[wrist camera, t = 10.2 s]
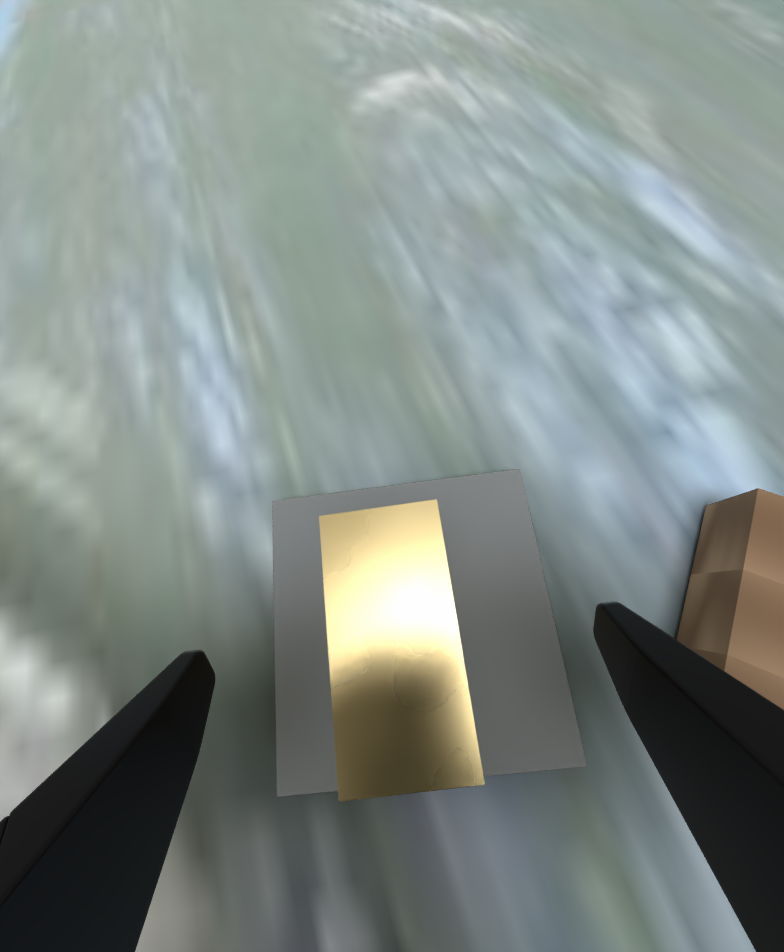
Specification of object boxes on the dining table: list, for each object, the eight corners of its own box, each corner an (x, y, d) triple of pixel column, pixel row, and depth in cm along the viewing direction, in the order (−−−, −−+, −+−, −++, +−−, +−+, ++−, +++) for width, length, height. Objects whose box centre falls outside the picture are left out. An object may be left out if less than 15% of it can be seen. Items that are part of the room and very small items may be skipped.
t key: (449, 675, 16) (484, 785, 7) (388, 683, 16) (338, 801, 7) (429, 553, 18) (437, 499, 8) (375, 561, 18) (318, 515, 8)
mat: (577, 756, 16) (587, 766, 15) (285, 785, 16) (276, 796, 15) (515, 475, 19) (519, 468, 18) (279, 505, 20) (272, 501, 19)
